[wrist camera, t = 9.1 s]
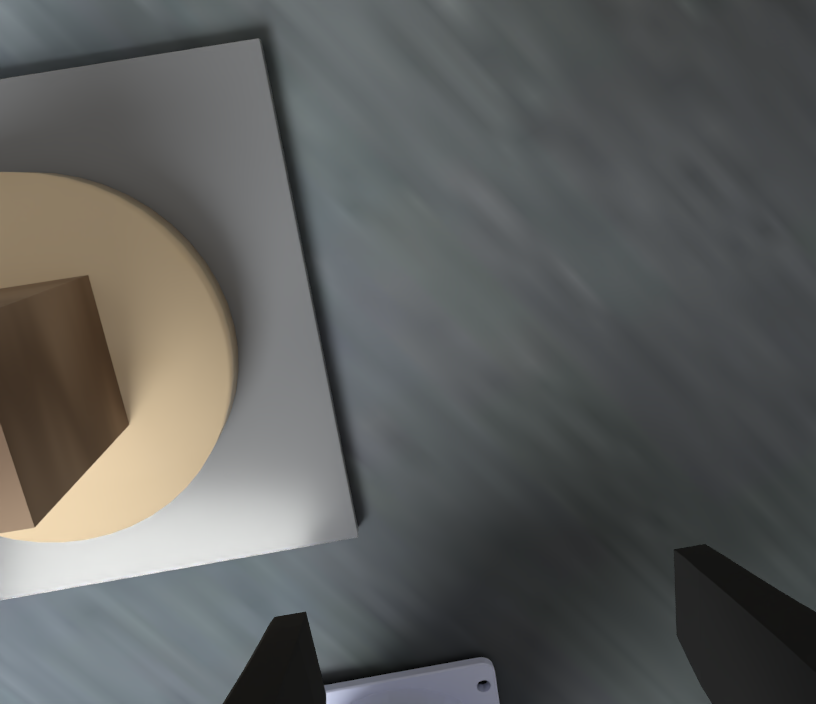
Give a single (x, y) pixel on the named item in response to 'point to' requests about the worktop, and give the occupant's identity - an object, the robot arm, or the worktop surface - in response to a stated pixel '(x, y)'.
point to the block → (52, 396)
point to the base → (265, 272)
